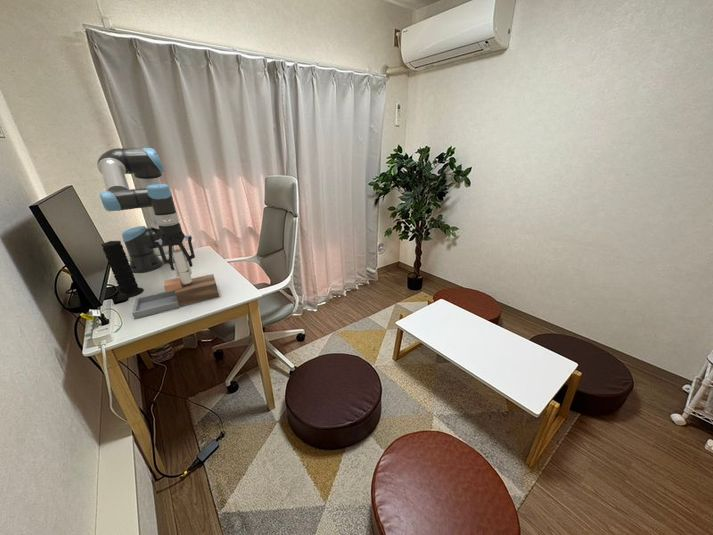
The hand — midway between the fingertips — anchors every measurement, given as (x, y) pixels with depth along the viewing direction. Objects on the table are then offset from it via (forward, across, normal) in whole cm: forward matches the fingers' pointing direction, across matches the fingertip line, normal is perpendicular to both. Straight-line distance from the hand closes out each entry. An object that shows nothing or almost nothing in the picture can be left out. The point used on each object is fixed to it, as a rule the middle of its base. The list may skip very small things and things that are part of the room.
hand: (184, 274), depth 122 cm
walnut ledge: (+12, +3, 0) cm, 12 cm away
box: (+12, -13, 0) cm, 17 cm away
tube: (+4, 0, 0) cm, 4 cm away
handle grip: (+12, -24, +21) cm, 35 cm away
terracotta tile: (+5, -5, 0) cm, 7 cm away
